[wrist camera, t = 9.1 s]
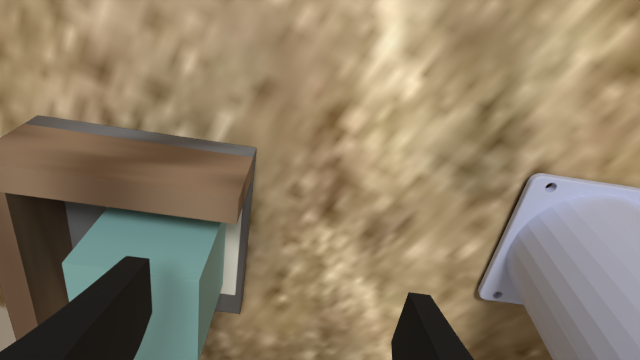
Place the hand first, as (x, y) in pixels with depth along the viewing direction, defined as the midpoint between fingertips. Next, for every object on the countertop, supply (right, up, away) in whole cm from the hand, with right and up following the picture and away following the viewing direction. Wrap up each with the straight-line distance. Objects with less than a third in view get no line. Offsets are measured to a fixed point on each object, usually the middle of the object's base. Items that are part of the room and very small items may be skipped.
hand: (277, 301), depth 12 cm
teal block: (-6, 0, +9) cm, 11 cm away
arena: (-8, +1, +10) cm, 13 cm away
